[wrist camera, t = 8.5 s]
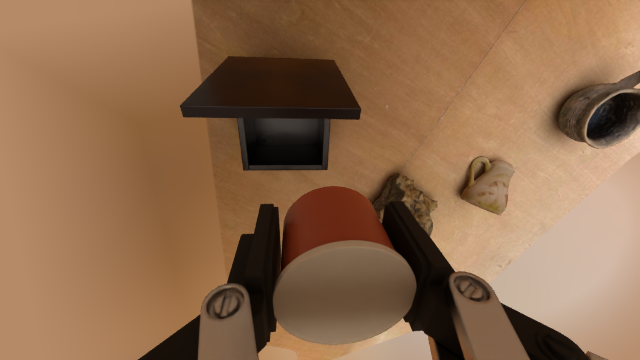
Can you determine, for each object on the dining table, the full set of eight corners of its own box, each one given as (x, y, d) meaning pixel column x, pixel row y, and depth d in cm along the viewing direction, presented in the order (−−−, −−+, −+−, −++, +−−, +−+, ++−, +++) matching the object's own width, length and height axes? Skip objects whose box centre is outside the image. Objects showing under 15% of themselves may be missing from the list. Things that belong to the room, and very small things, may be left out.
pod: (276, 182, 10) (266, 250, 7) (387, 180, 11) (432, 243, 7) (281, 266, 13) (275, 349, 9) (373, 261, 13) (402, 340, 9)
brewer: (321, 148, 43) (327, 170, 35) (252, 148, 42) (243, 170, 34) (325, 60, 36) (333, 63, 29) (244, 58, 35) (230, 60, 28)
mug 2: (534, 131, 45) (593, 151, 36) (578, 55, 39) (660, 56, 30) (578, 139, 46) (645, 160, 37) (626, 66, 41) (718, 70, 32)
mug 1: (513, 160, 47) (539, 207, 42) (463, 182, 54) (480, 226, 49) (496, 146, 44) (522, 196, 38) (444, 172, 50) (461, 218, 45)
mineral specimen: (447, 197, 50) (479, 228, 41) (405, 241, 54) (426, 277, 46) (393, 163, 45) (416, 190, 37) (352, 214, 50) (364, 249, 41)
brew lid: (359, 119, 17) (361, 108, 17) (182, 117, 16) (179, 105, 15) (333, 67, 29) (334, 59, 28) (229, 64, 27) (228, 56, 27)
